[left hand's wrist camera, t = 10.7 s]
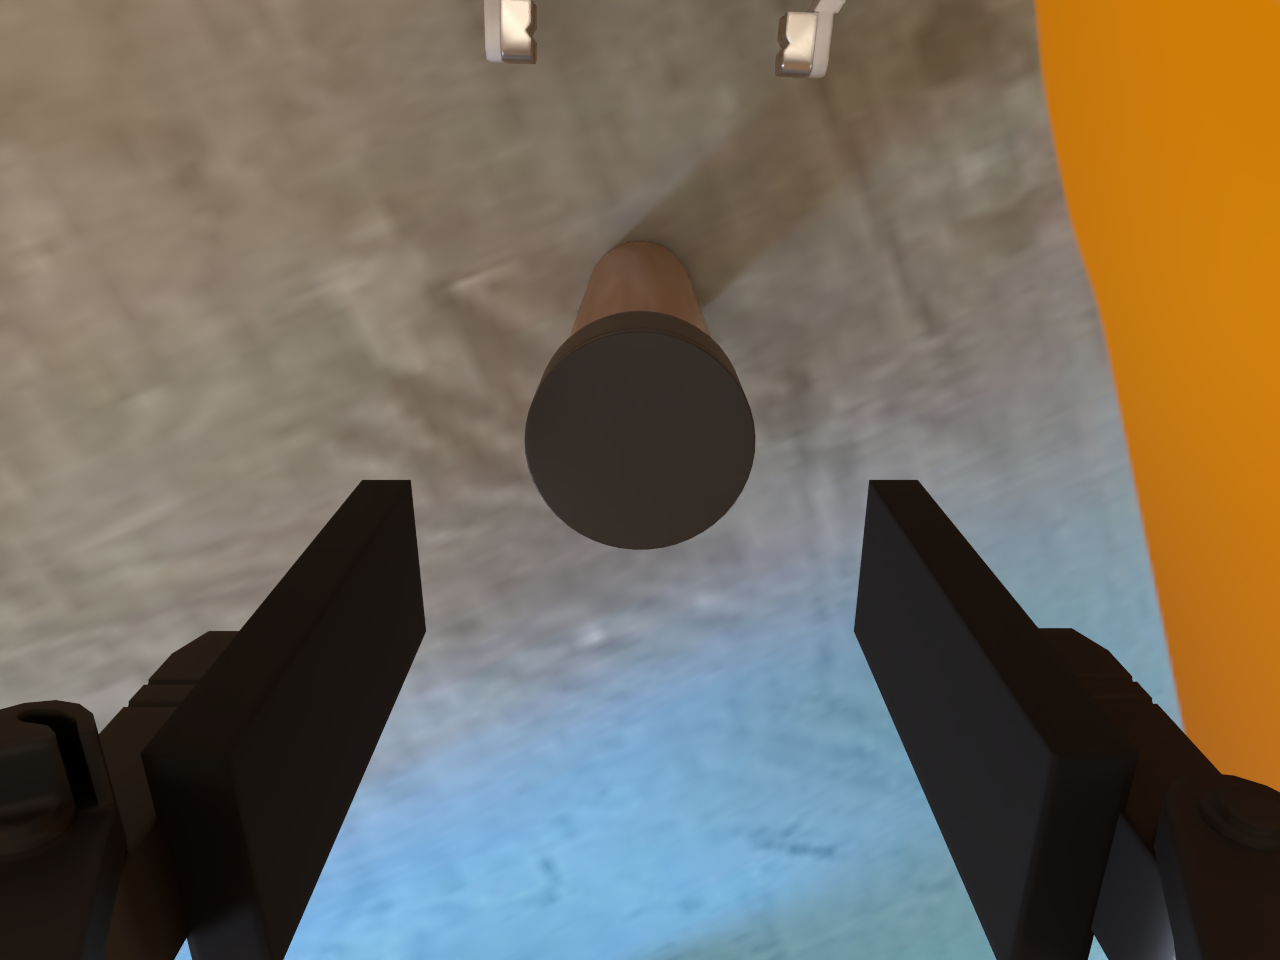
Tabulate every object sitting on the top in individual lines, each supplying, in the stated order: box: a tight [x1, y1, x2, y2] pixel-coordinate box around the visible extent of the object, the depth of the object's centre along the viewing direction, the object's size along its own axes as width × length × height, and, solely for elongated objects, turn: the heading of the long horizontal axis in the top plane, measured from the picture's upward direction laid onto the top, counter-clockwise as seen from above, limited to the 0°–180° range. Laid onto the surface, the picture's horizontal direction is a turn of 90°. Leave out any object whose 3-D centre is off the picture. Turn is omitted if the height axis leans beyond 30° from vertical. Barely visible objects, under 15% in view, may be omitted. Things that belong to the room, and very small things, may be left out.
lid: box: [525, 311, 755, 550], centre depth 20 cm, size 5×5×2 cm
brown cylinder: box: [569, 241, 711, 337], centre depth 29 cm, size 4×4×20 cm
